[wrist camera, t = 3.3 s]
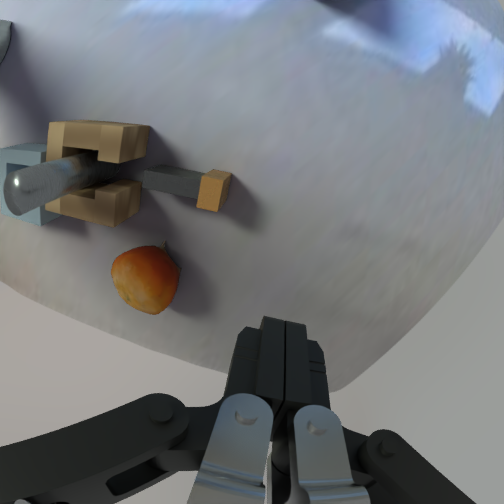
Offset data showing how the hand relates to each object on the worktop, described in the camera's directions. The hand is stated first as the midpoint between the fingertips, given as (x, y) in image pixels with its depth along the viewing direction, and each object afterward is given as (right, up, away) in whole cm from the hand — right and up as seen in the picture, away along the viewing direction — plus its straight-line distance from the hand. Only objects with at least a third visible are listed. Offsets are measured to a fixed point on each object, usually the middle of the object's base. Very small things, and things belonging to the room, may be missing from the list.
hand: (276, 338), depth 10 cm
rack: (-29, +13, +21) cm, 39 cm away
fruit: (-13, +1, +25) cm, 28 cm away
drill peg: (-18, +14, +20) cm, 30 cm away
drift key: (-7, +11, +20) cm, 24 cm away
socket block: (-18, +14, +20) cm, 30 cm away
